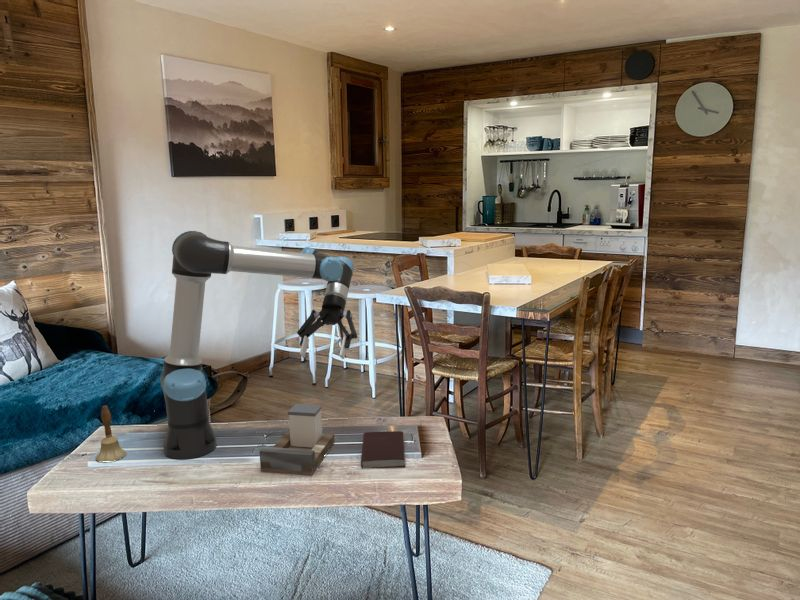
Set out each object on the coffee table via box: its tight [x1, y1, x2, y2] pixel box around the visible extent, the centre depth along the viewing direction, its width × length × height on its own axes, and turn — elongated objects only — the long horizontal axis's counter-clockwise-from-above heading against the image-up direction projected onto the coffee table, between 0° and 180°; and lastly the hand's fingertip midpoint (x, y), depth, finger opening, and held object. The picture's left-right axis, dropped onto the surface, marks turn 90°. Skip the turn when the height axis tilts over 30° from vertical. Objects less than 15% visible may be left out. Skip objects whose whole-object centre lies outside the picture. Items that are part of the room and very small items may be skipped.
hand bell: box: [95, 405, 127, 462], centre depth 181 cm, size 8×8×16 cm
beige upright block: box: [287, 403, 323, 448], centre depth 186 cm, size 6×8×11 cm
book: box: [360, 430, 406, 469], centre depth 182 cm, size 12×19×3 cm, turn 1°
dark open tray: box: [259, 429, 335, 476], centre depth 180 cm, size 21×15×6 cm
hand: (321, 356), depth 196 cm, fingers open, 13 cm apart
